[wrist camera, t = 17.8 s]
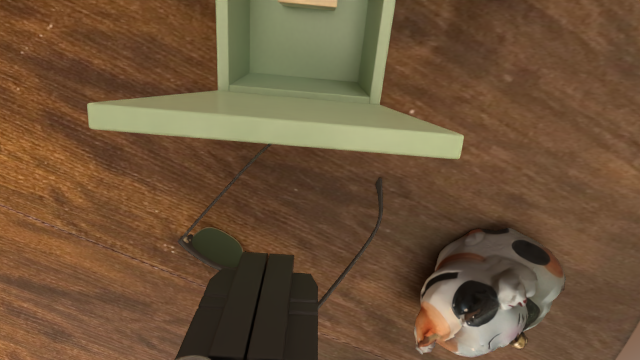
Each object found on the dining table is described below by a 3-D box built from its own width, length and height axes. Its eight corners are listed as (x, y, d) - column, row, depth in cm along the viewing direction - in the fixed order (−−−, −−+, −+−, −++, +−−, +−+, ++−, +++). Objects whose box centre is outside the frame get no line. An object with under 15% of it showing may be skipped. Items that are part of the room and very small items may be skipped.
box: (242, -98, 28) (211, -151, 19) (387, -82, 28) (415, -128, 20) (242, 79, 33) (217, 95, 25) (364, 90, 33) (379, 109, 25)
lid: (85, 102, 10) (88, 129, 11) (465, 135, 11) (460, 160, 11) (216, 90, 24) (216, 102, 24) (380, 104, 25) (379, 116, 25)
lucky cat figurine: (474, 331, 45) (457, 427, 34) (408, 261, 47) (371, 332, 35) (588, 280, 37) (616, 386, 25) (504, 196, 38) (495, 262, 27)
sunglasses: (403, 194, 38) (415, 216, 33) (308, 292, 43) (307, 323, 38) (278, 99, 34) (272, 110, 29) (191, 220, 39) (174, 246, 34)
